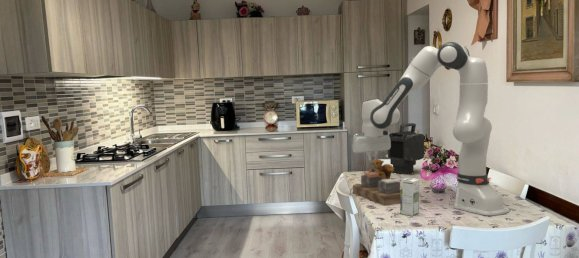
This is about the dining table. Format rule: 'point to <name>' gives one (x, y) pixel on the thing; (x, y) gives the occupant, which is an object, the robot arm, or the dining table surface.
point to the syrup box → (409, 196)
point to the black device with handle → (405, 149)
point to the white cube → (389, 181)
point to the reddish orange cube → (371, 174)
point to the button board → (378, 190)
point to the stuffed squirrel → (382, 169)
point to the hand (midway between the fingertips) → (371, 160)
